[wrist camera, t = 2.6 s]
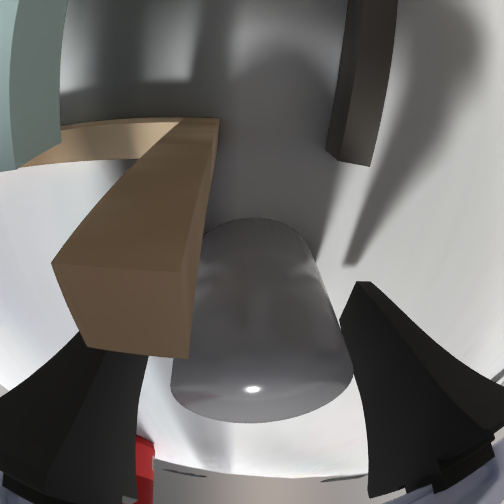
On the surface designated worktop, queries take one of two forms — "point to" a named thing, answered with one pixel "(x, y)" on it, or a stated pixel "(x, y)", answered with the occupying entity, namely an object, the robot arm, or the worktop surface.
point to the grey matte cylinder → (260, 329)
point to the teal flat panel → (29, 78)
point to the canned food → (144, 470)
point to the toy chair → (186, 200)
